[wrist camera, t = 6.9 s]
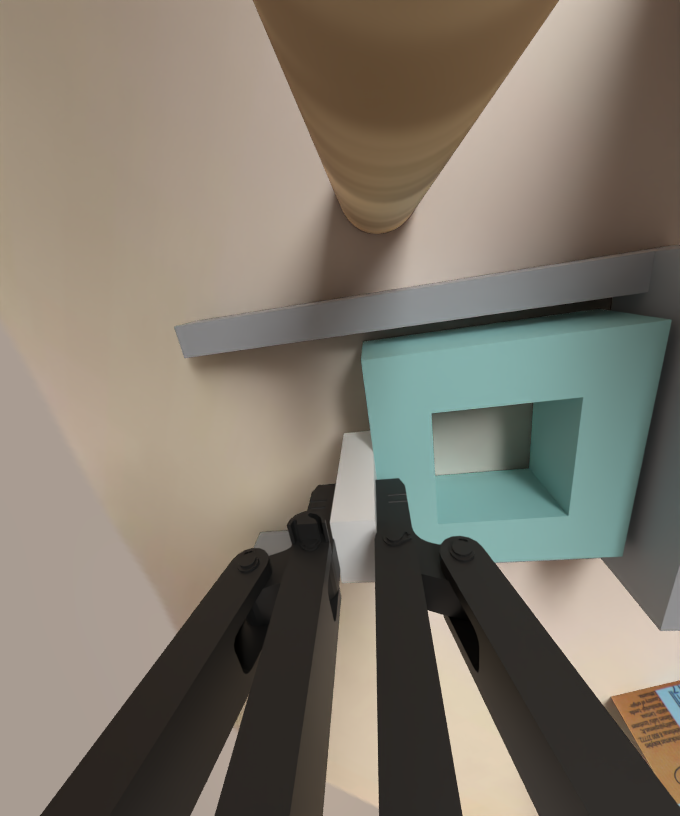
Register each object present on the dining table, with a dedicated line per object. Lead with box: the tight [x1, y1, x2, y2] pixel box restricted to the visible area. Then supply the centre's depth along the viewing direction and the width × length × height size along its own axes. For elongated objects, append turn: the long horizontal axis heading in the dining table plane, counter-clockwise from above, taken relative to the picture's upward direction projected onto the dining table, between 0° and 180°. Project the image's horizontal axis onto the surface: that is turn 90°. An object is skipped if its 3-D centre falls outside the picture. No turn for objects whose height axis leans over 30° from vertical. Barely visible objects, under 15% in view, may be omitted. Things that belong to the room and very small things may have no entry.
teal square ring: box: [361, 309, 672, 562], centre depth 16 cm, size 11×11×4 cm
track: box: [174, 245, 680, 631], centre depth 16 cm, size 16×22×6 cm
